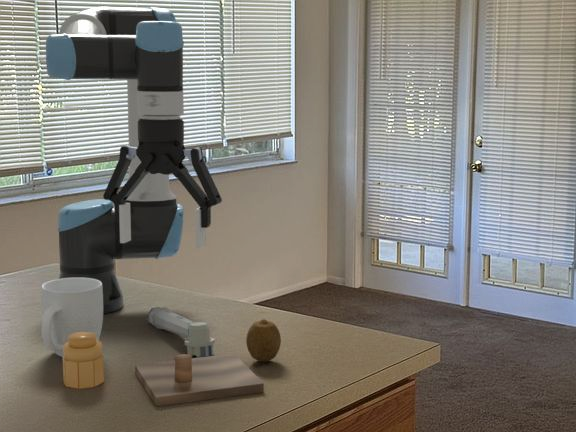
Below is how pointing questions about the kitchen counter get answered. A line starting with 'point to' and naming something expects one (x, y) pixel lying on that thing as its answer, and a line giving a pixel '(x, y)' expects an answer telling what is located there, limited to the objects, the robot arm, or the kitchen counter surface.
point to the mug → (70, 310)
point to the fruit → (263, 340)
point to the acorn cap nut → (83, 361)
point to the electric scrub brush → (184, 330)
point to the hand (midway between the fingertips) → (162, 244)
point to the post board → (197, 379)
